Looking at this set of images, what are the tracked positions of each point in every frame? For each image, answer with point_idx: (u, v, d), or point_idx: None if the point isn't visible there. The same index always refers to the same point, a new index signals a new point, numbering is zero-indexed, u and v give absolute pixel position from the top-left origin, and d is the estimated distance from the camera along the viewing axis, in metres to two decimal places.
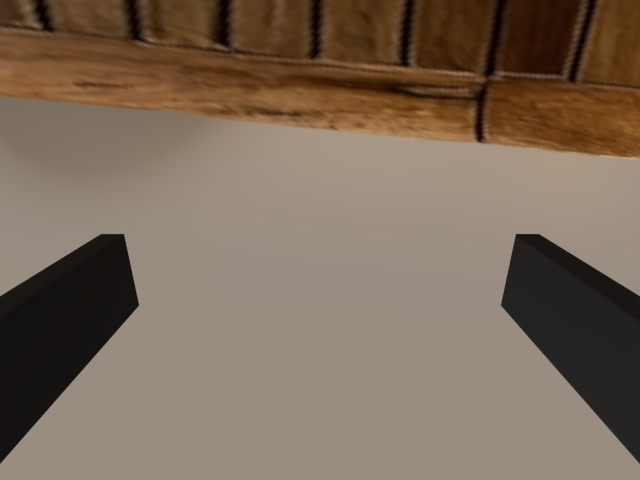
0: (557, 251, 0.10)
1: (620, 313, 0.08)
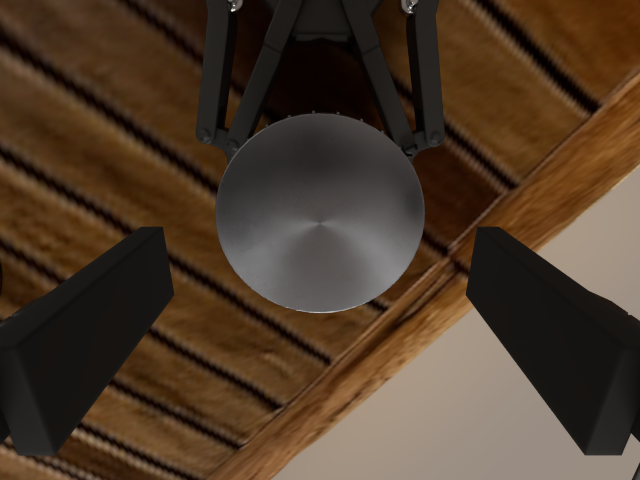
0: (511, 242, 0.11)
1: (554, 296, 0.08)
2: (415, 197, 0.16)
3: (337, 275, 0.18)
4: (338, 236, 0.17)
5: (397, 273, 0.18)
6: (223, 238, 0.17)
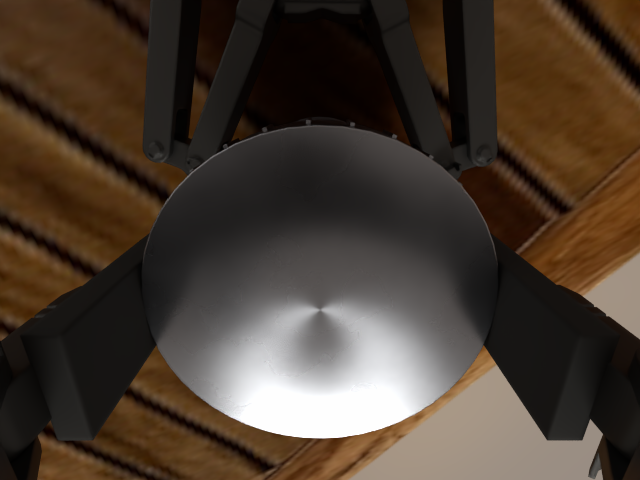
0: None
1: (522, 288, 0.09)
2: (484, 268, 0.10)
3: (348, 386, 0.11)
4: (350, 329, 0.10)
5: (446, 383, 0.11)
6: (158, 332, 0.10)
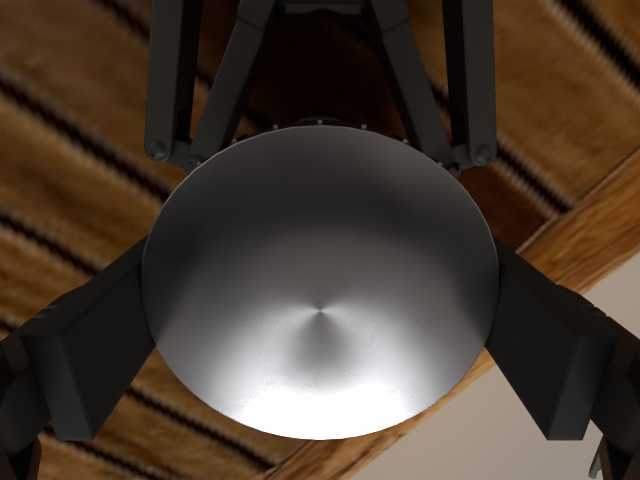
0: None
1: (522, 288, 0.09)
2: (370, 147, 0.08)
3: (418, 331, 0.10)
4: (356, 297, 0.10)
5: (484, 245, 0.09)
6: (265, 426, 0.12)
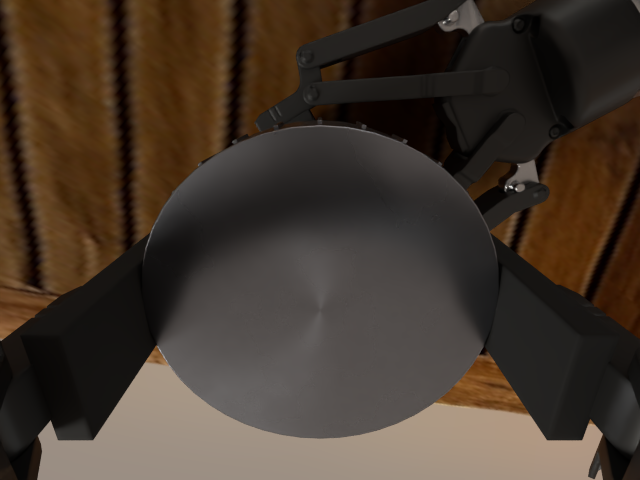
0: None
1: (522, 288, 0.09)
2: (370, 147, 0.08)
3: (417, 330, 0.10)
4: (356, 297, 0.10)
5: (484, 245, 0.09)
6: (265, 425, 0.12)
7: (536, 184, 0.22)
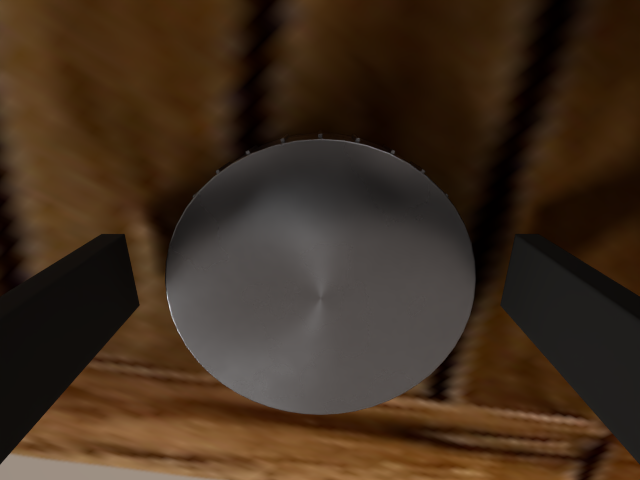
0: (556, 251, 0.10)
1: (619, 313, 0.08)
2: (363, 158, 0.10)
3: (405, 316, 0.12)
4: (352, 286, 0.11)
5: (461, 241, 0.11)
6: (272, 402, 0.13)
7: None
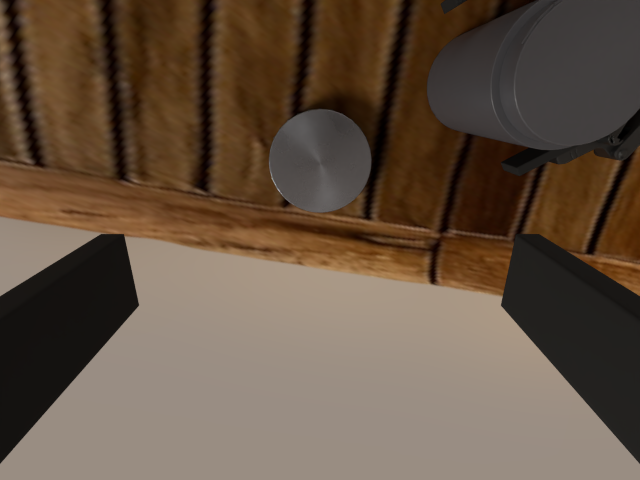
0: (557, 251, 0.10)
1: (620, 313, 0.08)
2: (333, 115, 0.33)
3: (348, 170, 0.35)
4: (330, 159, 0.34)
5: (365, 142, 0.34)
6: (302, 207, 0.36)
7: None
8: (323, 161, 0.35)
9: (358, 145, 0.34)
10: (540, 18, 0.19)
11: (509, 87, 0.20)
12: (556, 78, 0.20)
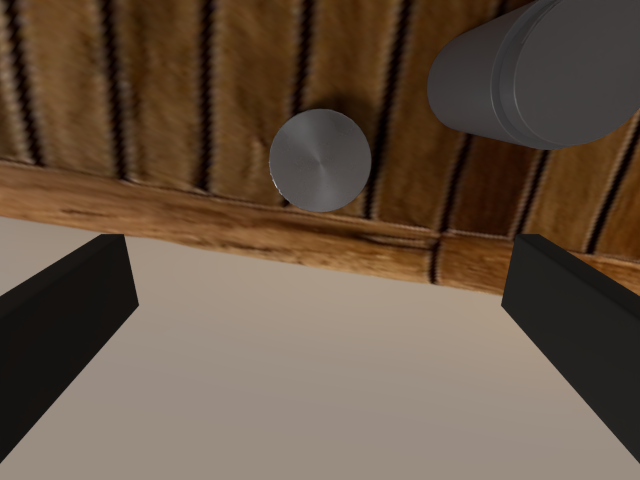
0: (557, 251, 0.10)
1: (620, 313, 0.08)
2: (333, 114, 0.33)
3: (348, 170, 0.35)
4: (330, 158, 0.34)
5: (365, 142, 0.34)
6: (302, 206, 0.36)
7: None
8: (323, 161, 0.35)
9: (358, 145, 0.34)
10: (540, 18, 0.19)
11: (509, 87, 0.20)
12: (556, 78, 0.20)
